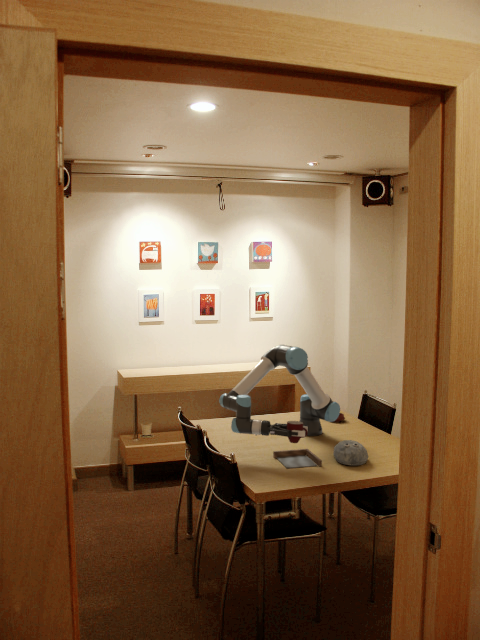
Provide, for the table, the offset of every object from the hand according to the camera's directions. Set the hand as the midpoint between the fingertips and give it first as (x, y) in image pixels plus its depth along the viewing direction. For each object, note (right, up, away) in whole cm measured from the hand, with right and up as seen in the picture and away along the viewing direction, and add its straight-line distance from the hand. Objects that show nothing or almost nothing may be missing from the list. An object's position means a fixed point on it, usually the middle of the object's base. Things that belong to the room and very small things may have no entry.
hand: (306, 431), depth 274 cm
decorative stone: (+23, -16, +6) cm, 29 cm away
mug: (-5, -6, +2) cm, 8 cm away
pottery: (+29, -10, +86) cm, 91 cm away
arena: (-5, -16, +3) cm, 17 cm away
